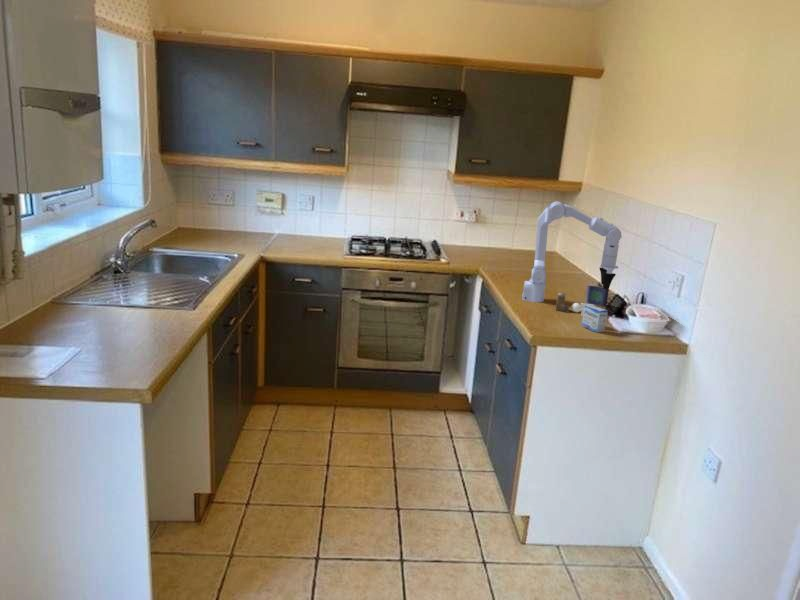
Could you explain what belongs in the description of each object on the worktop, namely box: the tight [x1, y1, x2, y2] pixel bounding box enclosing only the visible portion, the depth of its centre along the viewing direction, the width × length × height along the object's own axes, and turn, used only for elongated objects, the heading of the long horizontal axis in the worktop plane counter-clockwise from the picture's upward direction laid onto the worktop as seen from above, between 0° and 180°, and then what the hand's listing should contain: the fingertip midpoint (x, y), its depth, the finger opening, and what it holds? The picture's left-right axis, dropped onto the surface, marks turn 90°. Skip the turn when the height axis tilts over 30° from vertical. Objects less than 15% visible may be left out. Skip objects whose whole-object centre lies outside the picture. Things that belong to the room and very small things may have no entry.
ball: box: [570, 302, 582, 313], centre depth 247 cm, size 4×4×4 cm
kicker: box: [555, 292, 570, 313], centre depth 248 cm, size 5×5×7 cm
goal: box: [580, 302, 594, 317], centre depth 247 cm, size 5×9×3 cm, turn 167°
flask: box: [584, 281, 610, 307], centre depth 261 cm, size 9×3×11 cm, turn 59°
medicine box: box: [581, 304, 609, 333], centre depth 228 cm, size 8×4×9 cm, turn 31°
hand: (604, 286), depth 254 cm, fingers open, 7 cm apart
